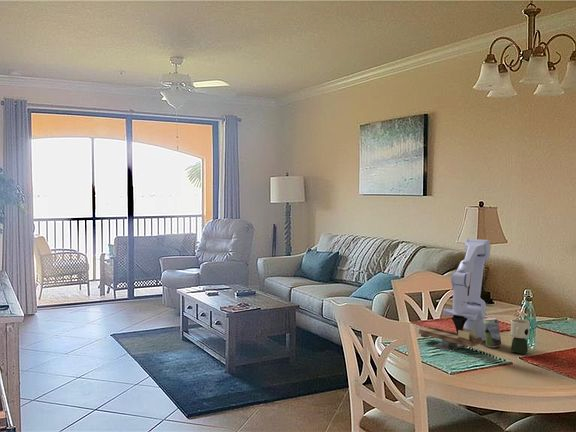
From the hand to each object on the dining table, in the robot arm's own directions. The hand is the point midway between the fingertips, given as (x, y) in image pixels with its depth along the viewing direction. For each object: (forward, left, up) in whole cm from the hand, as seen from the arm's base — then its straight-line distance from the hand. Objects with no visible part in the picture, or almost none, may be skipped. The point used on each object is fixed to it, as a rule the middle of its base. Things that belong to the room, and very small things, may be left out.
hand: (459, 333), depth 231 cm
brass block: (-2, +3, -2) cm, 4 cm away
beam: (+2, -4, -4) cm, 6 cm away
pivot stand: (+2, -4, -6) cm, 8 cm away
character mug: (-21, +10, -6) cm, 24 cm away
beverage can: (-15, 0, -6) cm, 17 cm away
